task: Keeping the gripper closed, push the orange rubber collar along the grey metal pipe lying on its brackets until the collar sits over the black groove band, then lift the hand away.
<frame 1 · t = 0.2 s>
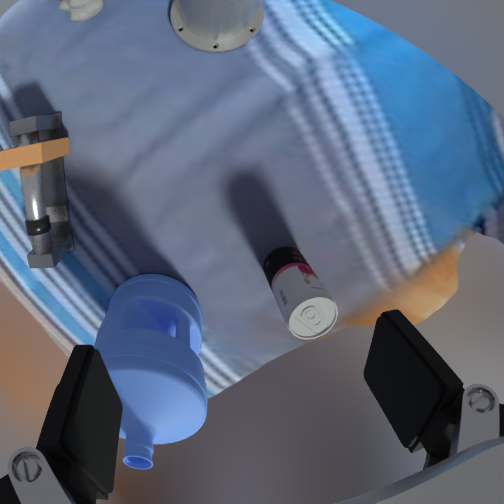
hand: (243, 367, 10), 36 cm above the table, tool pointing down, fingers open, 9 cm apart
pipe rig: (48, 185, 39), on the table
beverage can: (283, 264, 50), on the table
water jug: (155, 312, 50), on the table
rubber duck: (87, 9, 29), on the table
collar: (29, 153, 32), point 5 cm above the table, slide at 0.0 cm
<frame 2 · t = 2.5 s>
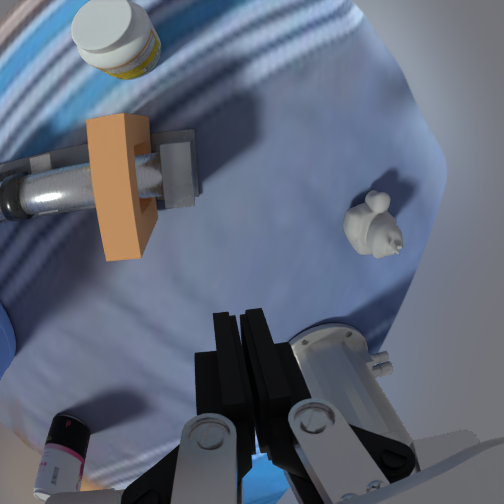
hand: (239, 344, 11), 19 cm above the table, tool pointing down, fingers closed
pipe rig: (85, 176, 25), on the table
beverage can: (72, 424, 38), on the table
rubber duck: (359, 215, 31), on the table
supplement bottle: (132, 53, 22), on the table
collar: (127, 178, 21), point 5 cm above the table, slide at 0.0 cm
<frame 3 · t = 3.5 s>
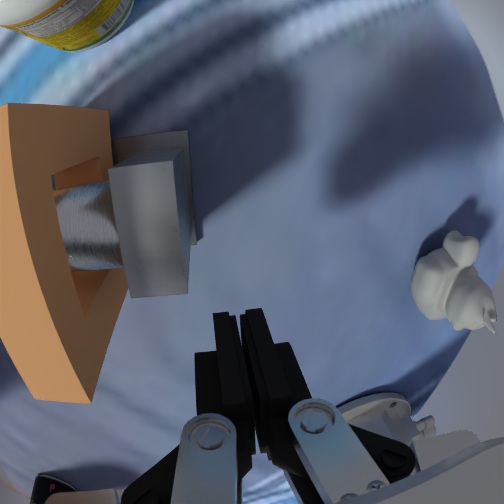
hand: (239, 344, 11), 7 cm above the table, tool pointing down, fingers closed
pipe rig: (20, 211, 14), on the table
beverage can: (57, 483, 27), on the table
rubber duck: (428, 261, 20), on the table
supplement bottle: (89, 11, 11), on the table
collar: (62, 230, 10), point 5 cm above the table, slide at 0.0 cm
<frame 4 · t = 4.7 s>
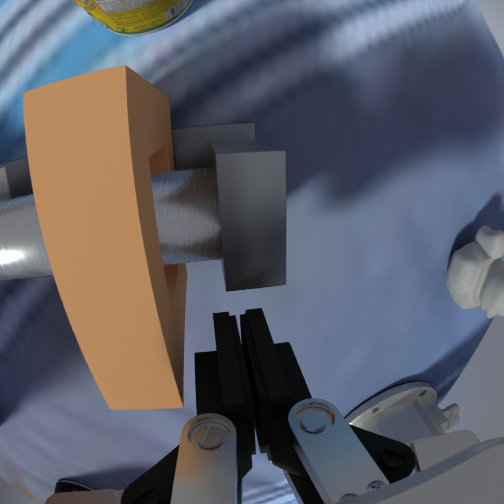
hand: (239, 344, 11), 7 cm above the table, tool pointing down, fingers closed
pipe rig: (62, 203, 14), on the table
beverage can: (79, 488, 27), on the table
rubber duck: (459, 254, 21), on the table
collar: (134, 221, 10), point 5 cm above the table, slide at 0.2 cm, touching gripper
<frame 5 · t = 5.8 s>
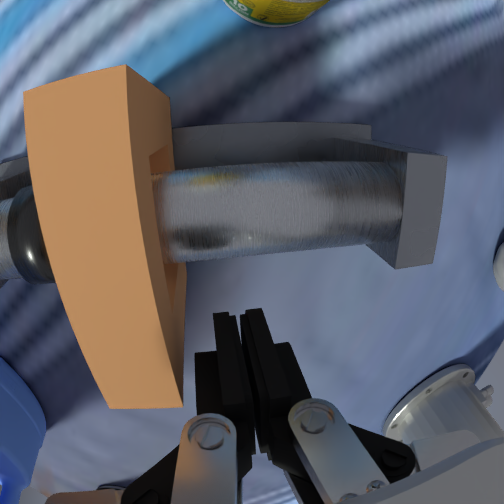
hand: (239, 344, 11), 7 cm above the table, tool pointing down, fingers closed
pipe rig: (174, 187, 15), on the table
beverage can: (120, 492, 28), on the table
rubber duck: (501, 247, 21), on the table
collar: (134, 221, 10), point 5 cm above the table, slide at 6.5 cm, touching gripper
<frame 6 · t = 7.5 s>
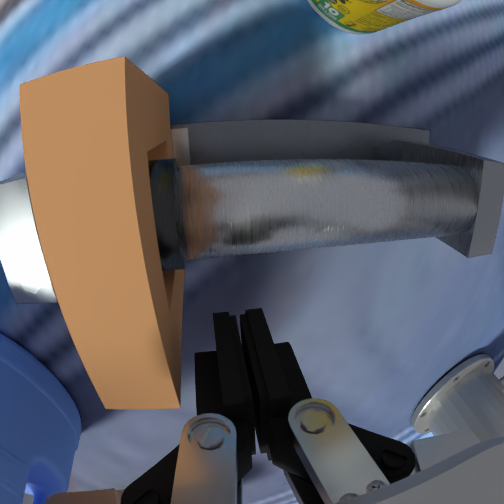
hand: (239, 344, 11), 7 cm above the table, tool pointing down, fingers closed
pipe rig: (257, 178, 16), on the table
water jug: (7, 387, 19), on the table
collar: (132, 218, 10), point 5 cm above the table, slide at 10.8 cm, touching gripper
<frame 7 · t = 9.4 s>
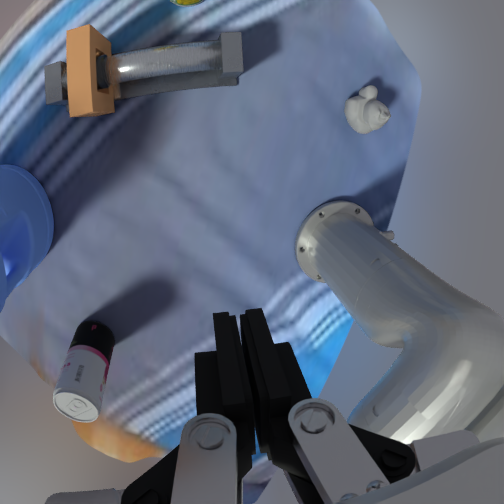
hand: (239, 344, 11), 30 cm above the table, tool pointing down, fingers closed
pipe rig: (146, 71, 31), on the table
beverage can: (96, 334, 44), on the table
water jug: (12, 217, 34), on the table
rubber duck: (356, 109, 37), on the table
collar: (91, 74, 25), point 5 cm above the table, slide at 10.8 cm
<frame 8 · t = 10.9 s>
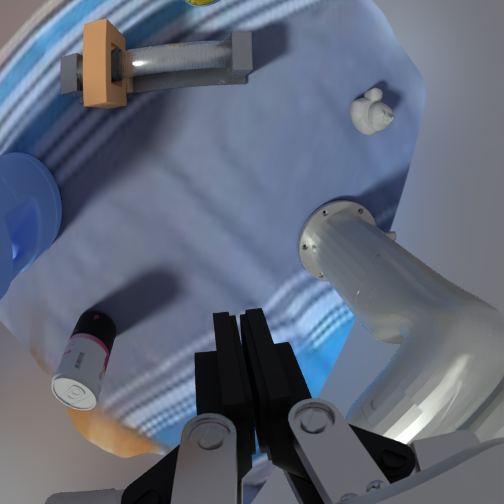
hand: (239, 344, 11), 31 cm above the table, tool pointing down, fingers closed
pipe rig: (159, 67, 32), on the table
beverage can: (97, 325, 45), on the table
water jug: (20, 204, 35), on the table
rubber duck: (361, 111, 38), on the table
collar: (106, 67, 27), point 5 cm above the table, slide at 10.8 cm
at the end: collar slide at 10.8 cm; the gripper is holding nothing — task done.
